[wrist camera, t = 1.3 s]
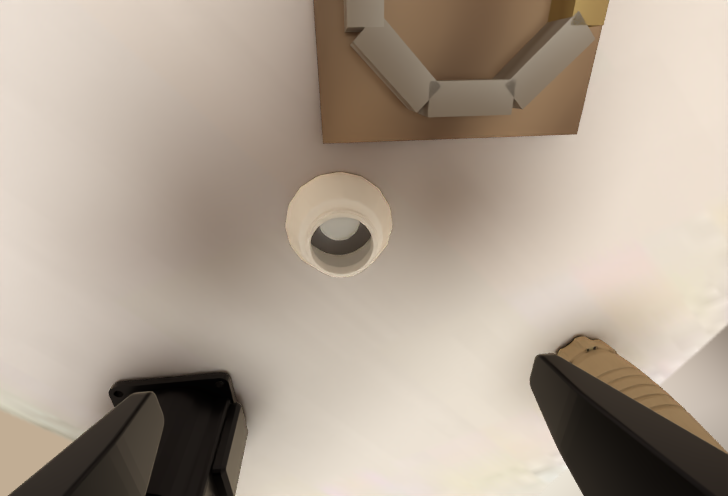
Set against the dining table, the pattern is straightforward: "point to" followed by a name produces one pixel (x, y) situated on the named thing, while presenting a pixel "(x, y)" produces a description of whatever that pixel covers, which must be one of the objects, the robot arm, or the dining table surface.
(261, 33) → the dining table surface
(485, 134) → the hub plate
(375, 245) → the white jar
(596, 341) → the handle
